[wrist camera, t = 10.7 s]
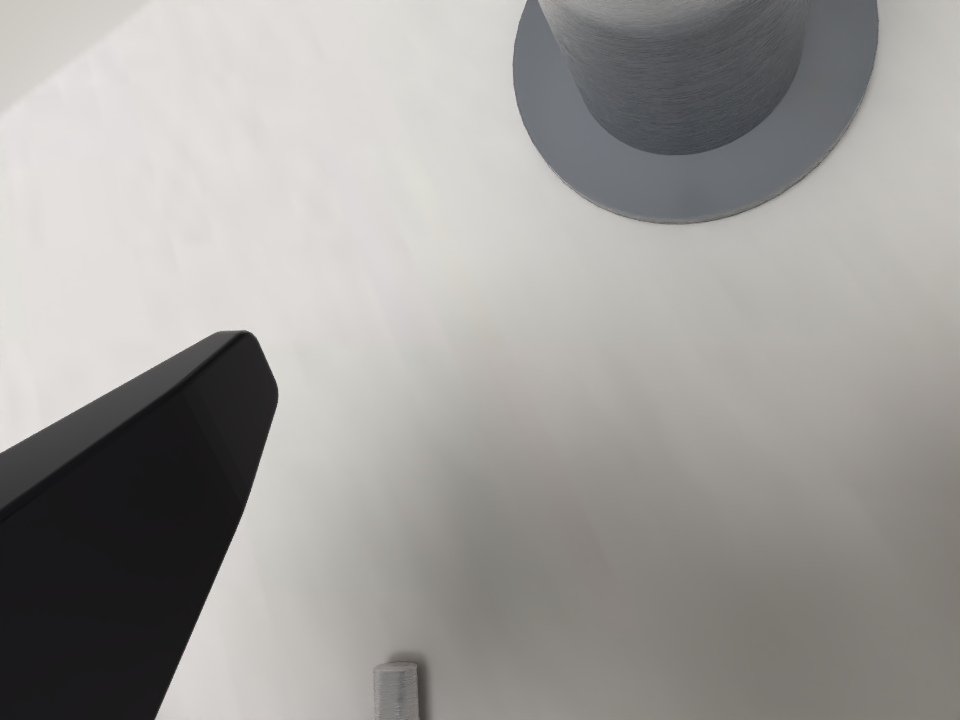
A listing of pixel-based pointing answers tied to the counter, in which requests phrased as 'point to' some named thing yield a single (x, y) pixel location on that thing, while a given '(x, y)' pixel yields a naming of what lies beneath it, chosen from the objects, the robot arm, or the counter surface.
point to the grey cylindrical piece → (679, 66)
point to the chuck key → (396, 691)
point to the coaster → (715, 173)
